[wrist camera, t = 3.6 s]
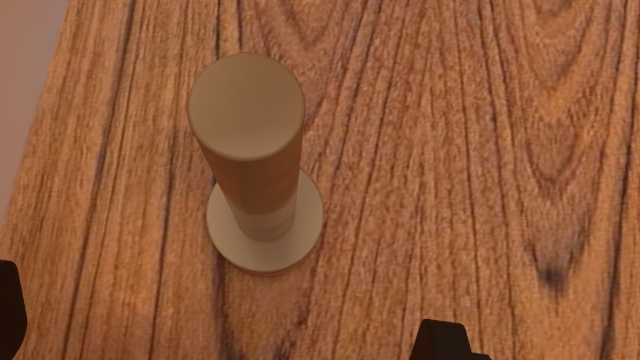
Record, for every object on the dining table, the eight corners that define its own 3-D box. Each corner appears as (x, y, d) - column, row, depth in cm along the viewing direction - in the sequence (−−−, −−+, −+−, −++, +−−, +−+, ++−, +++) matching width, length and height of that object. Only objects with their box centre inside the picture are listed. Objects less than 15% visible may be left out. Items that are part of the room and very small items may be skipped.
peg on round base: (200, 263, 21) (91, 190, 9) (228, 160, 22) (165, -21, 10) (307, 287, 21) (337, 245, 9) (330, 183, 22) (382, 28, 10)
